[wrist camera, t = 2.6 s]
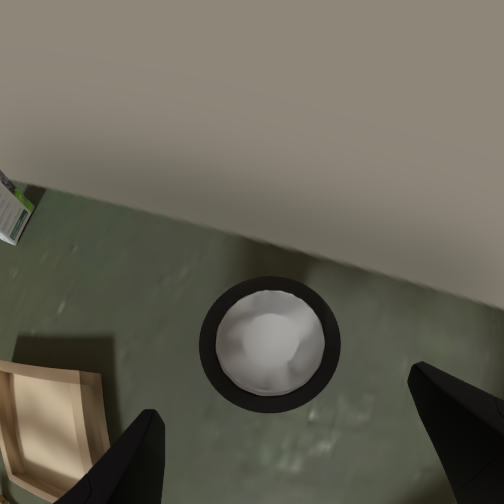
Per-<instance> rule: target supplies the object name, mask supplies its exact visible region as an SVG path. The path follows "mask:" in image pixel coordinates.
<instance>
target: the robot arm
mask: <svg viewBox="0 0 504 504" xmlns="http://www.w3.org/2000/svg"><path fill="white" fill-rule="evenodd" d="M407 383H408V387H409V389H410V392H411V394H412V397H413V400H414V403H415V405H416V408H417V411H418V413H419V416H420V418H421V420H422V422H423V424H424V427H425V429H426V431H427V433H428V435H429V437H430V439H431V441H432V443H433V445H434V448H435V450H436V452H437V454H438V456H439V459H440V461H441V463H442V465H443V468H444V470H445V472H446V475H447V477H448V480H449V482H450V485H451V487H452V490H453V492H454V495H455V498H456V500H457V503H458V504H504V400H502V399H500V398H498V397H496V396H495V397H494V396H493V395H491V394H489V393H487V392H485V391H483V390H481V389H479V388H477V387H475V386H472V385H470V384H468V383H466V382H464V381H462V380H460V379H458V378H456V377H454V376H452V375H450V374H448V373H446V372H444V371H442V370H440V369H438V368H436V367H434V366H431V365H429V364H427V363H425V362H423V361H421V362H418V363H416V364H413V366H412V367H411V370H410V374H409V377H408V381H407ZM164 469H165V424H164V422H163V420H162V419H161V417H160V415H159V414H158V412H157V411H156V410H155V409H145V410H143V411H142V412H141V413H140V414H139V416H138V417H137V418H136V419H135V420H134V421H133V422H132V423H131V425H130V426H129V427H128V428H127V429H126V430H125V431H124V432H123V434H122V435H121V436H120V437H119V438H118V439H117V440H116V441H115V442H114V444H113V445H112V446H111V447H110V448H109V449H108V450H107V451H106V452H105V453H104V455H103V456H102V457H101V458H100V459H99V460H98V461H97V462H96V463H95V464H94V465H93V466H92V468H91V469H90V470H89V471H88V473H86V474H85V475H84V476H83V477H82V478H81V479H80V480H79V481H78V482H77V483H76V484H75V485H74V486H73V487H72V488H71V489H70V490H69V491H67V492H66V493H65V494H64V495H63V496H61V497H60V498H59V499H58V500H56V501H55V502H54V503H53V504H161V498H162V488H163V478H164Z"/></svg>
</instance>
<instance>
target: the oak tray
mask: <svg viewBox="0 0 504 504" xmlns="http://www.w3.org/2000/svg"><path fill="white" fill-rule="evenodd" d="M0 447H1V451H2V455H3V459H4V463H5V467H6V470H7V474H8V477H9V480H11V481H12V482H14V483H16V484H17V485H19V486H21V487H22V488H24V489H26V490H28V491H29V492H31V493H33V494H35V495H37V496H39V497H41V498H43V499H45V500H47V501H49V502H51V503H54V502H55V501H56V500H58V499H59V498H60V497H61V496H63V495H64V494H65V493H66V492H67V491H69V490H70V489H71V488H72V487H73V486H74V485H75V484H76V483H77V482H78V481H79V480H80V479H81V478H82V477H83V476H84V475H85V474H86V473H88V471H89V470H90V469H91V468H92V466H93V465H94V464H95V463H96V462H97V461H98V460H99V459H100V458H101V457H102V456H103V455H104V453H105V452H106V451H107V450H108V449H109V448H110V443H109V437H108V431H107V425H106V418H105V410H104V401H103V391H102V379H101V373H92V372H85V371H76V370H65V369H55V368H46V367H38V366H31V365H25V364H19V363H13V362H7V361H2V360H0Z"/></svg>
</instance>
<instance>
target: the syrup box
mask: <svg viewBox="0 0 504 504" xmlns="http://www.w3.org/2000/svg"><path fill="white" fill-rule="evenodd" d="M34 208H35V207H34V205H33V204H32V203H31V202H30V201H29V200H28V199H27V198H26V197H25V196H24V195H23V194H22V193H21V192H20V191H19V190H18V189H17V188H16V187H15V186H14V185H13V184H12V182H11V181H10V180H9V179H8V178H7V177H6V176H5V175H4V173H2V171H1V170H0V239H1V240H4V241H6V242H8V243H11V244H13V245H17V243H18V239H19V237H20V235H21V232H22V230H23V228H24V226H25V225H26V223H27V221H28V219H29V217H30V215H31V213H32V212H33V210H34Z"/></svg>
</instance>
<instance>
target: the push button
mask: <svg viewBox="0 0 504 504" xmlns="http://www.w3.org/2000/svg"><path fill="white" fill-rule="evenodd" d="M340 348H341V341H340V332H339V328H338V324H337V321H336V319H335V316H334V314H333V313H332V311H331V309H330V307H329V306H328V305H327V303H326V302H325V301H324V300H323V299H322V298H321V297H320V296H319V295H318V294H317V293H316V292H315V291H313V290H312V289H311V288H309V287H307V286H306V285H304V284H302V283H300V282H297V281H294V280H291V279H287V278H283V277H272V276H269V277H258V278H254V279H250V280H247V281H244V282H241V283H239V284H237V285H235V286H234V287H232V288H230V289H229V290H228V291H226V292H225V293H224V294H223V295H221V296H220V297H219V298H218V299H217V300H216V302H215V303H214V304H213V305H212V307H211V308H210V310H209V311H208V313H207V315H206V317H205V319H204V322H203V325H202V328H201V332H200V338H199V353H200V359H201V363H202V366H203V369H204V372H205V374H206V376H207V378H208V379H209V381H210V383H211V384H212V385H213V387H214V388H215V389H216V390H217V391H218V392H219V393H220V394H221V395H222V396H223V397H224V398H226V399H227V400H228V401H230V402H231V403H233V404H235V405H237V406H239V407H241V408H243V409H246V410H249V411H253V412H259V413H280V412H285V411H289V410H292V409H295V408H298V407H300V406H302V405H304V404H306V403H307V402H309V401H311V400H312V399H313V398H314V397H316V396H317V395H318V394H319V393H320V392H321V391H322V390H323V389H324V388H325V387H326V385H327V384H328V383H329V381H330V380H331V378H332V376H333V374H334V372H335V370H336V367H337V364H338V361H339V356H340Z"/></svg>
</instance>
